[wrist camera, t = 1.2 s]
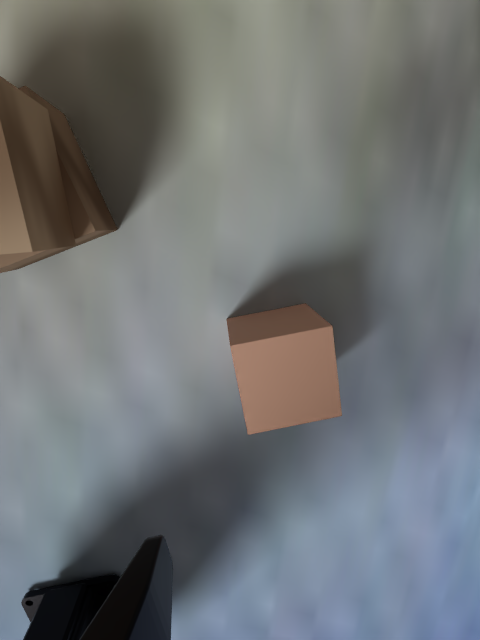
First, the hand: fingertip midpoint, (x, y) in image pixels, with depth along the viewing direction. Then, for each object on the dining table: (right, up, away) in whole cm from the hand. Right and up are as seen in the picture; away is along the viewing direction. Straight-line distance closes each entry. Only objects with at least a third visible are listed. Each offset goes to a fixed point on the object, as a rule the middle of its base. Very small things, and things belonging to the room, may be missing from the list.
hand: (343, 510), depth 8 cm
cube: (-1, +3, +11) cm, 12 cm away
